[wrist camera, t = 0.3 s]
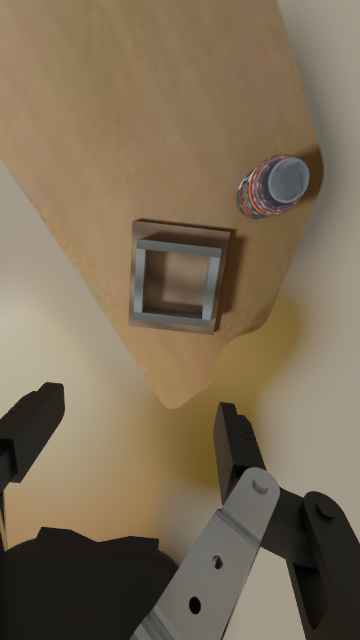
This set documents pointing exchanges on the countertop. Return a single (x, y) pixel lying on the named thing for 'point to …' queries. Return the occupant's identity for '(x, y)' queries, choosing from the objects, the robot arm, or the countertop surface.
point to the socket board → (176, 277)
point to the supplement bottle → (273, 187)
